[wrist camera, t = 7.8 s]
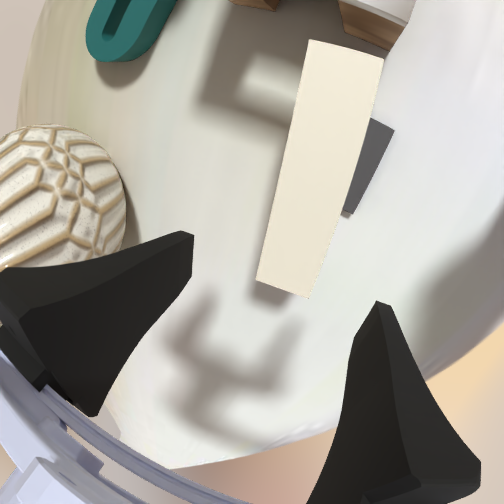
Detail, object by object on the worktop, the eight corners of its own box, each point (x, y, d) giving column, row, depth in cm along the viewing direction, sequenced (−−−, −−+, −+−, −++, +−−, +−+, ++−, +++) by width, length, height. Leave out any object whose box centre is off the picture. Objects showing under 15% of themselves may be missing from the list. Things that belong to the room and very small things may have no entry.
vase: (110, 278, 31) (-7, 393, 15) (41, 176, 27) (-86, 255, 11) (188, 211, 22) (-24, 404, 6) (90, 75, 19) (-120, 146, 3)
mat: (393, 129, 14) (394, 130, 14) (353, 211, 18) (352, 214, 17) (316, 93, 15) (316, 93, 14) (283, 178, 18) (281, 180, 18)
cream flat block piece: (375, 73, 13) (384, 59, 8) (323, 248, 19) (308, 299, 15) (323, 58, 13) (308, 39, 9) (281, 234, 20) (255, 279, 15)
